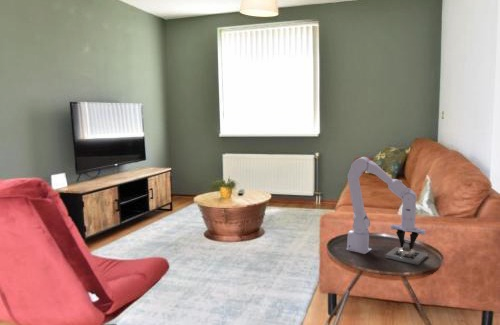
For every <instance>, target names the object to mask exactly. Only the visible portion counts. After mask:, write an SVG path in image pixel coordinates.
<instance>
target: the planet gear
mask: <svg viewBox="0 0 500 325" xmlns="http://www.w3.org/2000/svg"><path fill="white" fill-rule="evenodd" d="M415 251H416V250H415V249H414V248H413V249H410V241H409V240H404V241H403V247H400V248H399V249H398V254H397V255H398V256H403V257H408V258H412V257H416V256H415Z"/></svg>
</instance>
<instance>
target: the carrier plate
mask: <svg viewBox="0 0 500 325" xmlns="http://www.w3.org/2000/svg"><path fill="white" fill-rule="evenodd" d="M399 248H401V246H400V247H399V246H395V247H394V248H392V249H391V250H390V251H388V252H386V254H385V257H384V258H385V259H390V260H393V261H398V262H403V263H406V264H410V265H411V264H412V265H416V266H418V265H420V264H421V263H422V262H423V261H424V260H425V259H426V258H427V257H428V252H423V251H418V250H415V256H414V258H412V257H408V256H402V255H399V254H398V249H399Z"/></svg>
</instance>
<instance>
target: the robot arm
mask: <svg viewBox="0 0 500 325" xmlns="http://www.w3.org/2000/svg"><path fill="white" fill-rule="evenodd" d="M364 172H366V173H368V174H374V175H375V176H376V177H378V179H380V180H382V181H383V182H384V183H385V184H387V188H388V190H390V191H391V193H393V194H394V195H395V196H396V197H398V198H399V199H401V202H402V208H401V218H400V219H401V221H400V222H401V223H400V224H391V225H390V230H391V231H392V230H395V231H396V236H397V238H398V240H399V244H400V248H402V247H403V241H405V234H406V232H407V233H410V234H409V239H410V241H409V242H410V249H413V250H414V246H415V243H416V240H417V239H418V237H419V235H422V236H425V235H426V229H422V228H418V227H416V214H417V210H416V206H417V204H416V201H417V198H418V196H417V193H416V191H414V190H412V189H411V188H410V187H407V186H406V185H405V184H404V183H403V181H402V179H397V178H392V177H391V176H390V175H389V174H388V173H387V172H385V171H384V169H383V168H382V167H380V166H379V165H378V164H377V163H375V161H373V160H371V159H370V158H369V157H368V156H361V157H359V158H357V159H355V160H354V161H353V162H352V163H351V166H350V168H349V171H348V173H347V181H348V187H349V193H350V199H351V205H352V210H353V218H352V220H353V223H352V229H350V230H349V231H348V233H347V238H346V239H347V242H346V250H347V251H350V252H355V253H359V254H362V255H363V254H364V255H365V254H367V253H369V252H371V251H372V248H371V247H369V246H370V245H369V244H370V243H369V242H370V230H369V227H370V225H371V221H370V219H369V218H368V214H367V212H366V210H365V205H364V199H363V195H362V194H363V193H362V188H361V183H360V177H361V176H362V175H363V173H364Z"/></svg>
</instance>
